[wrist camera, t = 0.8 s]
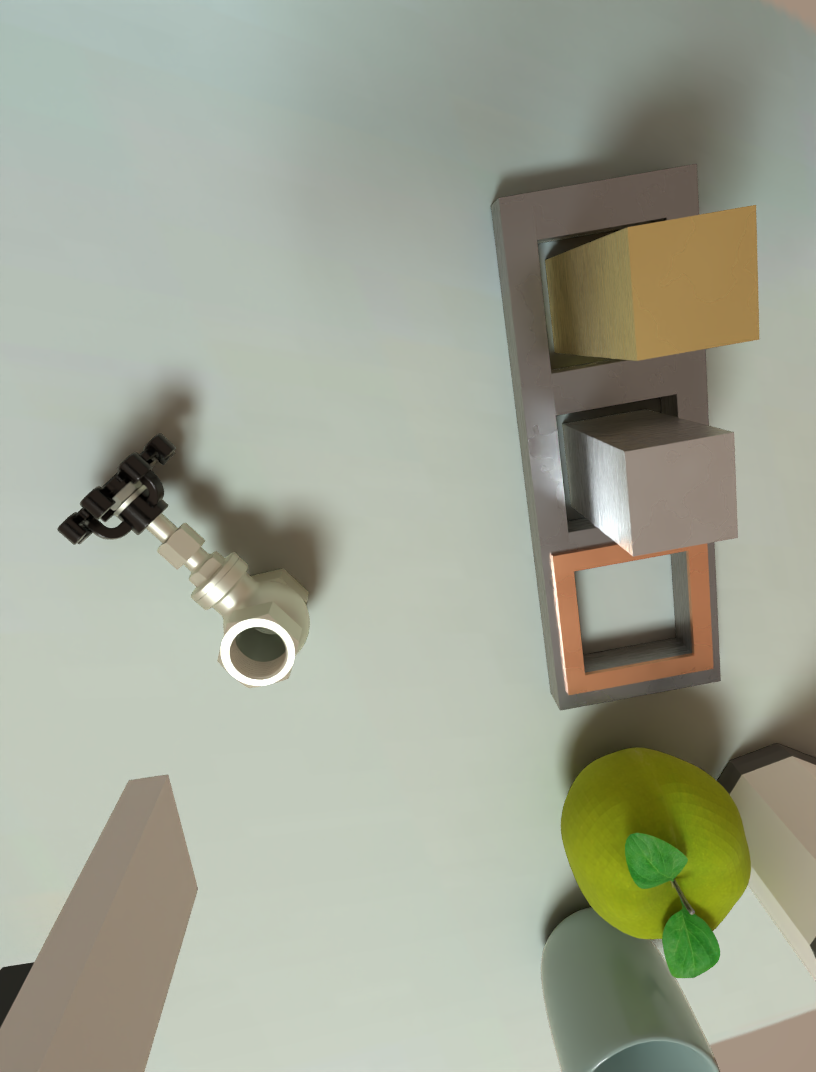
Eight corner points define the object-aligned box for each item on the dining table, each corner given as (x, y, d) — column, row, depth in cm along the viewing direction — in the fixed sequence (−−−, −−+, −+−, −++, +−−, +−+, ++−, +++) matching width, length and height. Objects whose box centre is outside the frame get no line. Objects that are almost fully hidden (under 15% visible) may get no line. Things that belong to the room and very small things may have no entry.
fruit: (567, 867, 44) (624, 1015, 35) (526, 744, 42) (576, 867, 32) (708, 821, 44) (805, 958, 34) (676, 695, 41) (771, 804, 32)
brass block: (544, 260, 34) (627, 227, 24) (634, 244, 34) (755, 204, 24) (554, 352, 35) (636, 360, 25) (640, 337, 35) (759, 339, 25)
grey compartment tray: (490, 205, 33) (499, 196, 31) (677, 173, 33) (699, 162, 31) (550, 692, 41) (561, 713, 38) (703, 664, 41) (723, 683, 39)
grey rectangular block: (562, 423, 36) (624, 451, 28) (645, 408, 36) (733, 432, 28) (570, 505, 38) (633, 556, 29) (651, 491, 38) (737, 537, 29)
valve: (345, 585, 38) (177, 423, 35) (343, 635, 32) (137, 443, 29) (260, 664, 39) (89, 512, 36) (240, 728, 33) (32, 550, 30)
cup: (671, 928, 46) (753, 1085, 36) (586, 1002, 47) (644, 1173, 38) (590, 866, 44) (653, 1013, 35) (504, 944, 45) (542, 1108, 36)
